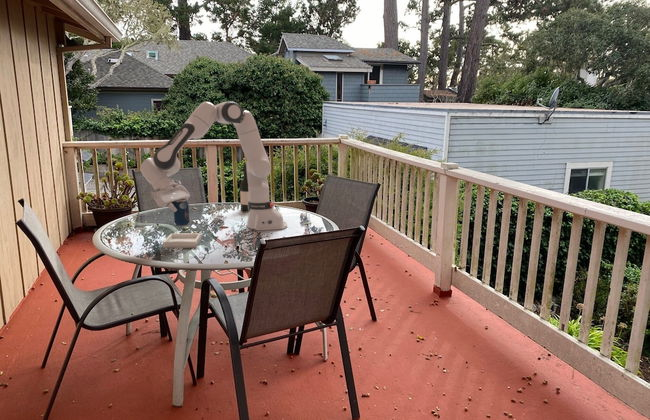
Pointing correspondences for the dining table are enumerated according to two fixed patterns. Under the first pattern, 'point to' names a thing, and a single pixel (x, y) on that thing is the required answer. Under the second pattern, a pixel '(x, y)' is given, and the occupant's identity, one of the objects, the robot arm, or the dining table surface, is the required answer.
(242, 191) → the wine bottle
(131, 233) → the dining table surface
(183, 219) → the soda can
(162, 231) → the dining table surface
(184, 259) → the dining table surface
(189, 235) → the tray
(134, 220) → the dining table surface
